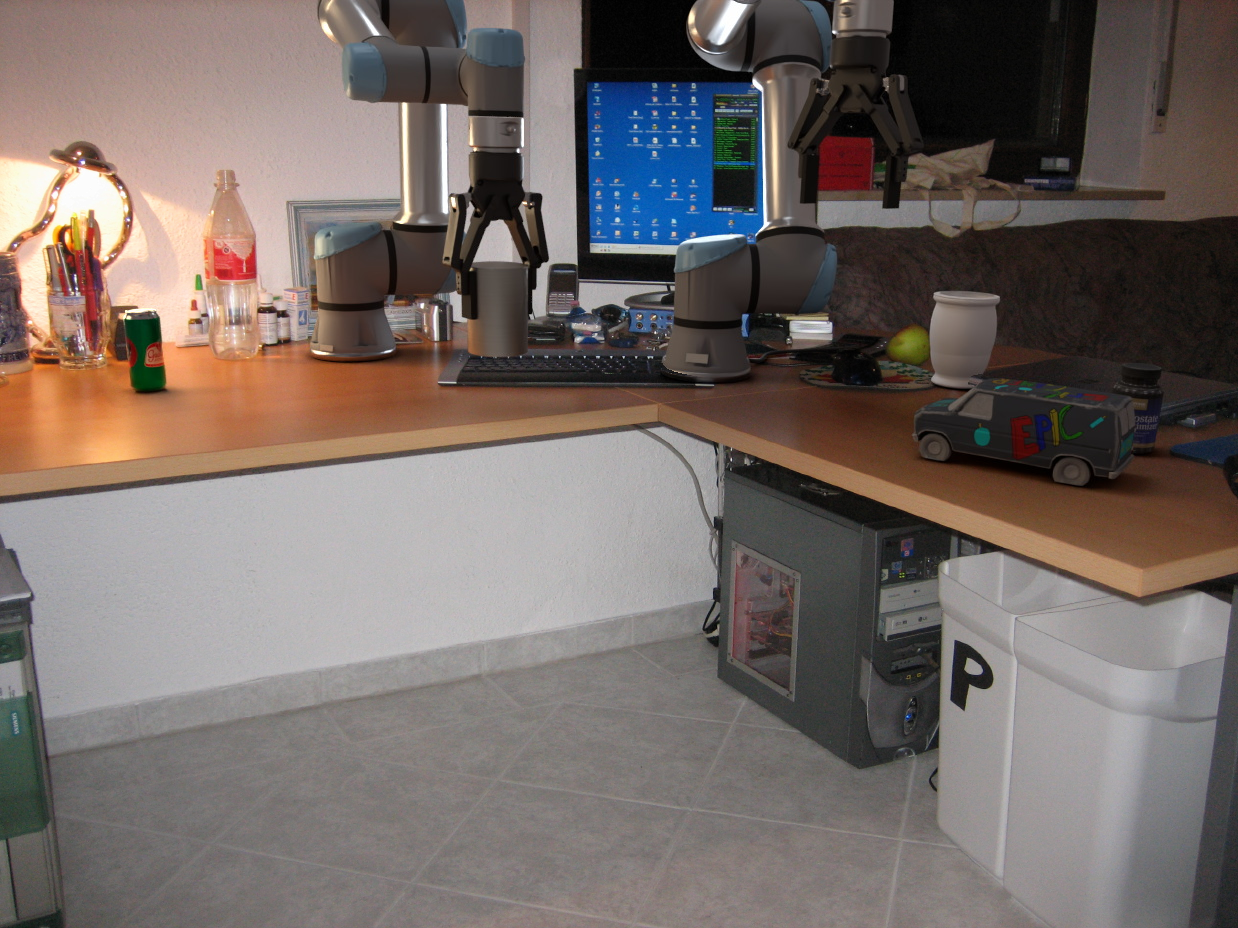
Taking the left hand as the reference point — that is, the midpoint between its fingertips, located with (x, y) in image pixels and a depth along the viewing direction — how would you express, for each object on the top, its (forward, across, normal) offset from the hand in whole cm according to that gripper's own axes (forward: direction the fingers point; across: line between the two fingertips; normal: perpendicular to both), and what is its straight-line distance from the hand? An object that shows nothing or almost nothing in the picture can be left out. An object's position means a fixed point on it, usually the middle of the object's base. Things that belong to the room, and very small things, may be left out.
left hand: (497, 315), depth 152 cm
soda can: (+14, -38, +39) cm, 57 cm away
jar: (+14, +73, -27) cm, 79 cm away
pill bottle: (+13, +58, -65) cm, 87 cm away
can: (+5, 0, 0) cm, 5 cm away
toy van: (+13, +38, -61) cm, 73 cm away
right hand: (-17, +36, -32) cm, 51 cm away
